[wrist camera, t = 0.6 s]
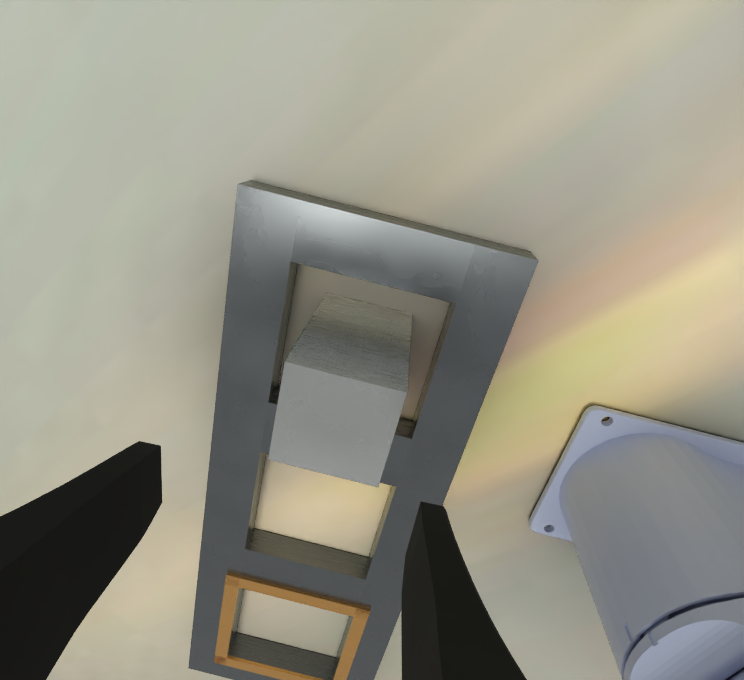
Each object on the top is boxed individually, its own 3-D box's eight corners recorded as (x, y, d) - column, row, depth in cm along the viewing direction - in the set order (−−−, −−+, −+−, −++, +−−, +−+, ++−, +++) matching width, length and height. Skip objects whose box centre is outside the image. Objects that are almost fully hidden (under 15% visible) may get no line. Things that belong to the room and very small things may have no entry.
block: (412, 314, 21) (407, 393, 15) (390, 388, 23) (377, 487, 16) (326, 292, 21) (284, 361, 15) (311, 368, 23) (268, 459, 16)
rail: (530, 251, 19) (539, 262, 18) (363, 687, 33) (360, 715, 31) (250, 180, 19) (235, 184, 18) (198, 645, 33) (187, 671, 31)
